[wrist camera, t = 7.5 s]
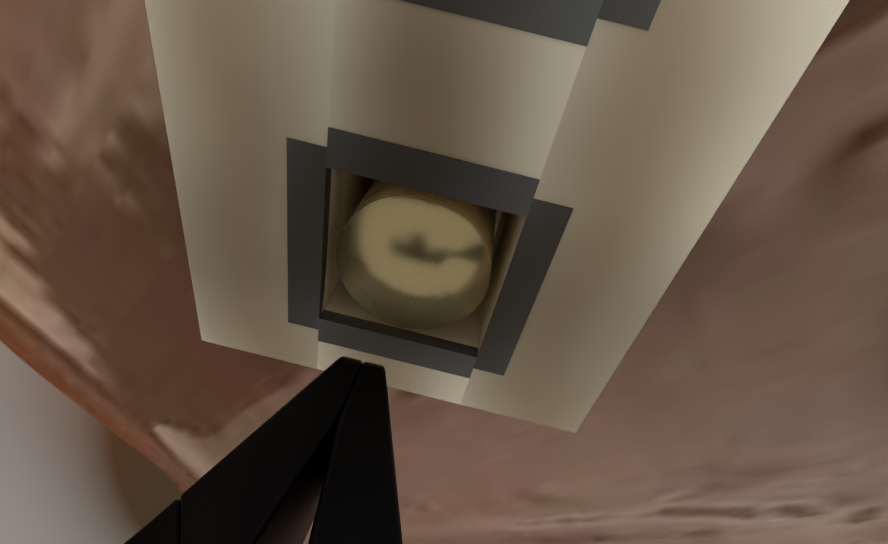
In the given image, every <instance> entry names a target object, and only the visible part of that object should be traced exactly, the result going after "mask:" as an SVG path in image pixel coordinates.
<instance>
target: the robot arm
mask: <svg viewBox="0 0 888 544" xmlns="http://www.w3.org/2000/svg"><path fill="white" fill-rule="evenodd" d="M314 517H315V518H314ZM313 520H314V522H313ZM312 522H313V526H312V530H311V535H310V539H309V543H308V544H402V533H401V523H400V513H399V503H398V493H397V483H396V473H395V463H394V453H393V443H392V432H391V422H390V412H389V402H388V392H387V382H386V372H385V368H384V366H382V365H379V364H375V363H370V362H364V363H362V361H361V360H358V359H354V358H350V357H346V356H343V357H340V358H339V359H337V360H336V361H335V362H334V363H333V364H332V365H330V366H329V367H328V368H327V369H326V370H325V371H324V372H322V373H321V374H320V375H319V376H318V377H317V378H315V379H314V380H313V381H312V382H311V383H310V384H309V385H307V386H306V387H305V388H304V389H303V390H302V391H300V392H299V393H298V394H297V395H296V396H295V397H294V398H292V399H291V400H290V401H289V402H288V403H287V404H286V405H284V406H283V407H282V408H281V409H280V410H279V411H277V412H276V413H275V414H274V415H273V416H272V417H271V418H269V419H268V420H267V421H266V422H265V423H264V424H263V425H261V426H260V427H259V428H258V429H257V430H256V431H254V432H253V433H252V434H251V435H250V436H249V437H248V438H246V439H245V440H244V441H243V442H242V443H241V444H240V445H238V446H237V447H236V448H235V449H234V450H233V451H231V452H230V453H229V454H228V455H227V456H226V457H225V458H223V459H222V460H221V461H220V462H219V463H218V464H216V465H215V466H214V467H213V468H212V469H211V470H210V471H208V472H207V473H206V474H205V475H204V476H203V477H202V478H200V479H199V480H198V481H197V482H196V483H195V484H193V485H192V486H191V487H190V488H189V489H188V490H187V491H185V492H184V493H183V494H182V495H181V497H180V501H179V500H175V501H174V502H172V503H171V504H170V505H169V506H168V507H167V508H166V509H164V510H163V511H162V512H161V513H160V514H159V515H158V516H156V517H155V518H154V519H153V520H152V521H151V522H149V523H148V524H147V525H146V526H145V527H143V528H142V529H141V530H140V531H139V532H138V533H136V534H135V535H134V536H133V537H131V538H130V539H129V540H128V541H126V542H125V543H124V544H303V542H304V540H305V538H306V535H307V533H308V531H309V529H310V526H311V524H312Z"/></svg>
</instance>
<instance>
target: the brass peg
mask: <svg viewBox="0 0 888 544" xmlns="http://www.w3.org/2000/svg"><path fill="white" fill-rule="evenodd" d="M496 211H497V210H495V209H491V208H487V207H483V206H479V205H475V204H471V203H467V202H463V201H459V200H455V199H451V198H447V197H443V196H439V195H435V194H431V193H427V192H423V191H419V190H415V189H411V188H407V187H403V186H399V185H395V184H391V183H387V182H383V181H379V180H375V181H374V183H373V184H372V186H371V187H370V189H369V190H368V192H367V193H366V195H365V196H364V198H363V199H362V201H361V202H360V204H359V205H358V207H357V208H356V210H355V211H354V213H353V214H352V215H351V217H350V218H349V220H348V221H347V223H346V224H345V226H344V227H343V229H342V231H341V233H340V235H339V239H338V242H337V247H336V263H337V269H338V272H339V275H340V278H341V280H342V282H343V284H344V286H345V287H346V289H347V291H348V292H349V293H350V295H351V296H352V297H353V298H354V299H355V300H356V301H357V302H358V303H359V304H360V305H361V306H362V307H363V308H364V309H366V310H367V311H368V312H370V313H371V314H373V315H374V316H376V317H378V318H380V319H382V320H384V321H386V322H389V323H391V324H394V325H398V326H401V327H406V328H413V329H434V328H440V327H445V326H448V325H451V324H454V323H456V322H458V321H460V320H462V319H464V318H465V317H467V316H468V315H469V314H471V313H472V312H473V311H474V310H475V309H476V308H477V307H478V306H479V304H480V303H481V302H482V300H483V298H484V297H485V295H486V292H487V290H488V286H489V282H490V274H491V263H492V253H493V242H494V232H495V221H496Z"/></svg>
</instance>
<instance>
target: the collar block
mask: <svg viewBox="0 0 888 544" xmlns="http://www.w3.org/2000/svg"><path fill="white" fill-rule="evenodd" d="M848 2H849V0H145V5H146V11H147V17H148V23H149V29H150V35H151V41H152V47H153V53H154V59H155V65H156V71H157V77H158V83H159V89H160V95H161V100H162V106H163V112H164V118H165V124H166V130H167V136H168V142H169V148H170V154H171V160H172V166H173V172H174V178H175V184H176V190H177V196H178V202H179V207H180V213H181V219H182V225H183V231H184V237H185V243H186V249H187V255H188V261H189V267H190V273H191V279H192V285H193V291H194V297H195V303H196V309H197V314H198V320H199V326H200V332H201V338H202V340H203V341H207V342H211V343H215V344H219V345H223V346H227V347H231V348H235V349H239V350H243V351H247V352H251V353H255V354H259V355H263V356H267V357H271V358H275V359H279V360H283V361H287V362H291V363H295V364H299V365H303V366H307V367H311V368H315V369H319V370H323V371H325V370H326V369H327V368H328V367H329V366H330V365H332V364H333V363H334V362H335V361H336V360H337V359H339V358H340V357H343V356H346V357H350V358H354V359H358V360H361V361H362V363H364V362H370V363H375V364H379V365H382V366H384V368H385V372H386V382H387V386H388V387H392V388H396V389H400V390H404V391H408V392H412V393H416V394H420V395H424V396H428V397H432V398H436V399H440V400H444V401H448V402H452V403H456V404H460V405H464V406H468V407H472V408H476V409H480V410H484V411H488V412H493V413H497V414H501V415H505V416H509V417H513V418H517V419H521V420H525V421H529V422H533V423H537V424H541V425H545V426H549V427H553V428H557V429H561V430H565V431H569V432H573V433H576V431H577V430H578V428H579V427H580V425H581V423H582V422H583V420H584V419H585V417H586V416H587V414H588V412H589V411H590V409H591V408H592V406H593V404H594V403H595V401H596V400H597V398H598V397H599V395H600V393H601V392H602V390H603V389H604V387H605V386H606V384H607V382H608V381H609V379H610V378H611V376H612V374H613V373H614V371H615V370H616V368H617V367H618V365H619V363H620V362H621V360H622V359H623V357H624V356H625V354H626V352H627V351H628V349H629V348H630V346H631V344H632V343H633V341H634V340H635V338H636V337H637V335H638V333H639V332H640V330H641V329H642V327H643V326H644V324H645V322H646V321H647V319H648V318H649V316H650V314H651V313H652V311H653V310H654V308H655V307H656V305H657V303H658V302H659V300H660V299H661V297H662V296H663V294H664V292H665V291H666V289H667V288H668V286H669V285H670V283H671V281H672V280H673V278H674V277H675V275H676V273H677V272H678V270H679V269H680V267H681V266H682V264H683V262H684V261H685V259H686V258H687V256H688V255H689V253H690V251H691V250H692V248H693V247H694V245H695V243H696V242H697V240H698V239H699V237H700V236H701V234H702V232H703V231H704V229H705V228H706V226H707V225H708V223H709V221H710V220H711V218H712V217H713V215H714V213H715V212H716V210H717V209H718V207H719V206H720V204H721V202H722V201H723V199H724V198H725V196H726V195H727V193H728V191H729V190H730V188H731V187H732V185H733V183H734V182H735V180H736V179H737V177H738V176H739V174H740V172H741V171H742V169H743V168H744V166H745V165H746V163H747V161H748V160H749V158H750V157H751V155H752V153H753V152H754V150H755V149H756V147H757V146H758V144H759V142H760V141H761V139H762V138H763V136H764V135H765V133H766V131H767V130H768V128H769V127H770V125H771V123H772V122H773V120H774V119H775V117H776V116H777V114H778V112H779V111H780V109H781V108H782V106H783V105H784V103H785V101H786V100H787V98H788V97H789V95H790V93H791V92H792V90H793V89H794V87H795V86H796V84H797V82H798V81H799V79H800V78H801V76H802V75H803V73H804V71H805V70H806V68H807V67H808V65H809V64H810V62H811V60H812V59H813V57H814V56H815V54H816V52H817V51H818V49H819V48H820V46H821V45H822V43H823V41H824V40H825V38H826V37H827V35H828V34H829V32H830V30H831V29H832V27H833V26H834V24H835V22H836V21H837V19H838V18H839V16H840V15H841V13H842V11H843V10H844V8H845V7H846V5H847V4H848ZM375 180H379V181H383V182H387V183H391V184H395V185H399V186H403V187H407V188H411V189H415V190H419V191H423V192H427V193H431V194H435V195H439V196H443V197H447V198H451V199H455V200H459V201H463V202H467V203H471V204H475V205H479V206H483V207H487V208H491V209H495V210H497V211H496V221H495V232H494V242H493V253H492V263H491V274H490V282H489V286H488V290H487V292H486V295H485V297H484V298H483V300H482V302H481V303H480V304H479V306H478V307H477V308H476V309H475V310H474V311H473V312H472V313H471V314H469V315H468V316H467V317H465V318H464V319H462V320H460V321H458V322H456V323H454V324H451V325H448V326H445V327H440V328H434V329H413V328H406V327H401V326H398V325H394V324H391V323H389V322H386V321H384V320H382V319H380V318H378V317H376V316H374V315H373V314H371V313H370V312H368V311H367V310H366V309H364V308H363V307H362V306H361V305H360V304H359V303H358V302H357V301H356V300H355V299H354V298H353V297H352V296H351V295H350V293H349V292H348V291H347V289H346V287H345V286H344V284H343V282H342V280H341V278H340V275H339V272H338V269H337V263H336V247H337V242H338V239H339V235H340V233H341V231H342V229H343V227H344V226H345V224H346V223H347V221H348V220H349V218H350V217H351V215H352V214H353V213H354V211H355V210H356V208H357V207H358V205H359V204H360V202H361V201H362V199H363V198H364V196H365V195H366V193H367V192H368V190H369V189H370V187H371V186H372V184H373V183H374V181H375Z"/></svg>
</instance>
